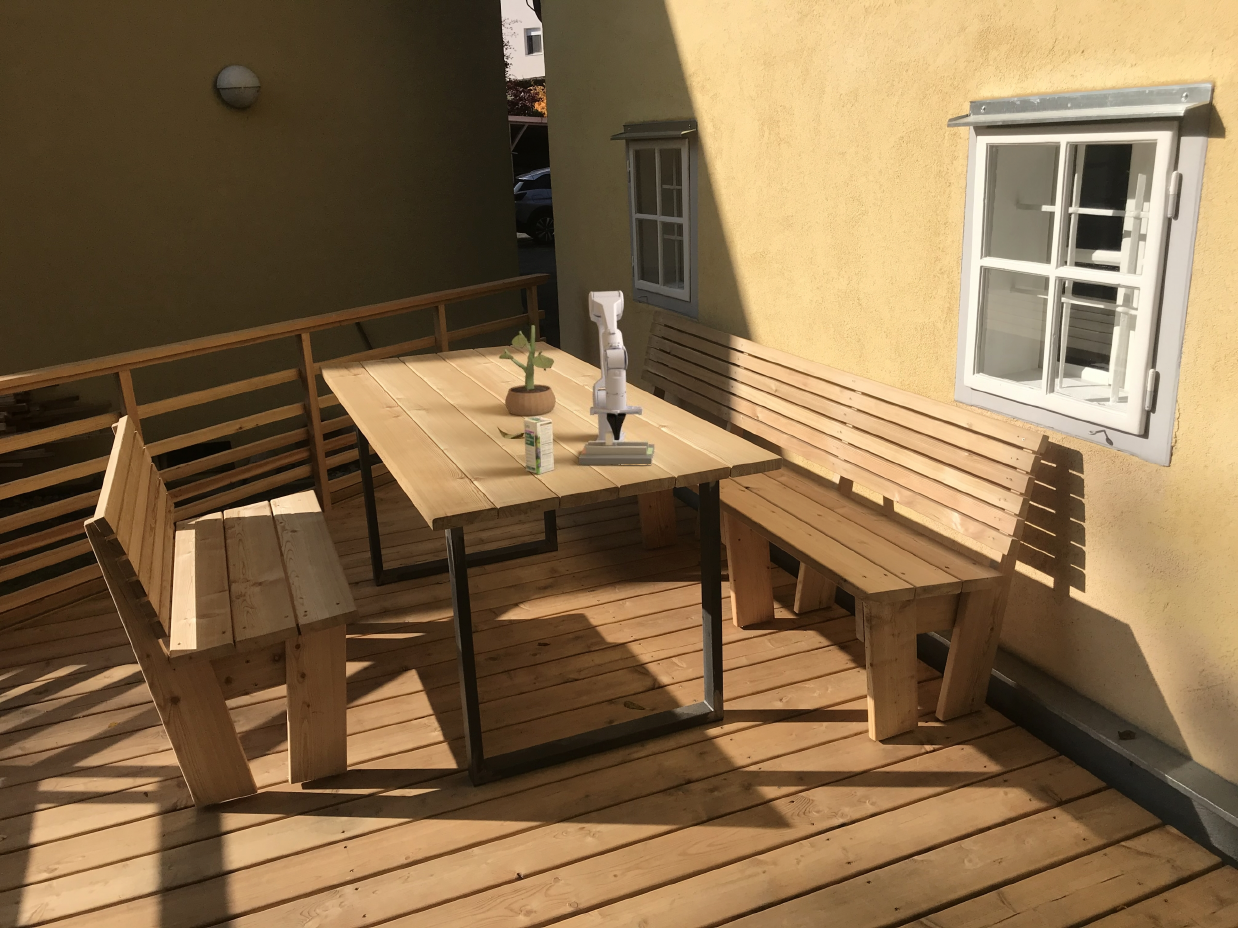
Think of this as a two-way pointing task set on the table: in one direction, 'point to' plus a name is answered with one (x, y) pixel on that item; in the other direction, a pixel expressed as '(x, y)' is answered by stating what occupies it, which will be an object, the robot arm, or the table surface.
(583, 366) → the table surface
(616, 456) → the breaker panel
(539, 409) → the potted plant
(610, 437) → the breaker handle
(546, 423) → the syrup box
